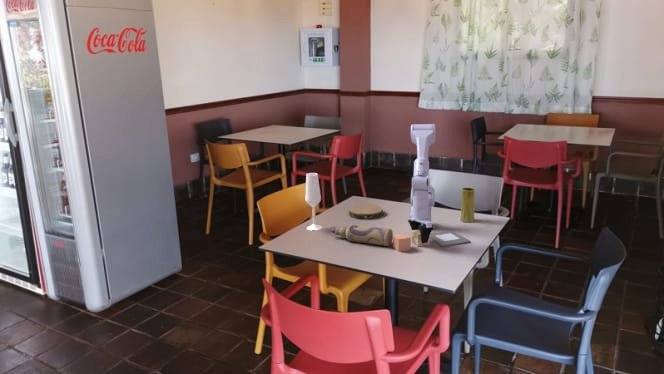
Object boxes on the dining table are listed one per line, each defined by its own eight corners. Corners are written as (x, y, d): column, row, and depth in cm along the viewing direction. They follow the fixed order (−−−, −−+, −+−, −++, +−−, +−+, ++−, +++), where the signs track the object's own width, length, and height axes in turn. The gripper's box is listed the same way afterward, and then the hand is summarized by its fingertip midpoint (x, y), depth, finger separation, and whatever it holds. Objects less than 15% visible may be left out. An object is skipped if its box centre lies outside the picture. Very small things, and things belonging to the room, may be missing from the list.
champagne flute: (323, 225, 223) (320, 172, 218) (321, 230, 217) (318, 175, 211) (307, 225, 224) (305, 172, 218) (305, 230, 218) (302, 176, 212)
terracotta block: (392, 247, 195) (392, 235, 194) (404, 245, 196) (404, 233, 195) (398, 251, 190) (398, 239, 189) (410, 250, 192) (410, 237, 191)
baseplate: (425, 235, 206) (425, 233, 206) (451, 231, 210) (451, 229, 210) (443, 247, 193) (443, 245, 193) (470, 242, 197) (470, 240, 197)
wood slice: (388, 212, 239) (388, 206, 239) (373, 222, 226) (373, 215, 226) (359, 208, 248) (359, 202, 247) (342, 217, 235) (342, 211, 234)
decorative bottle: (394, 242, 200) (394, 226, 199) (387, 249, 194) (386, 232, 192) (336, 234, 212) (336, 218, 211) (327, 239, 206) (327, 224, 204)
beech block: (411, 242, 200) (411, 230, 198) (423, 240, 201) (423, 228, 200) (417, 246, 195) (417, 234, 194) (429, 244, 196) (429, 232, 195)
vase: (464, 223, 219) (465, 191, 216) (457, 219, 225) (458, 188, 222) (477, 221, 221) (478, 189, 217) (469, 217, 227) (470, 186, 223)
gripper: (402, 202, 200) (402, 235, 203) (420, 212, 186) (419, 247, 190) (418, 200, 202) (418, 233, 205) (437, 210, 188) (436, 244, 192)
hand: (420, 239), depth 198 cm, fingers open, 6 cm apart
